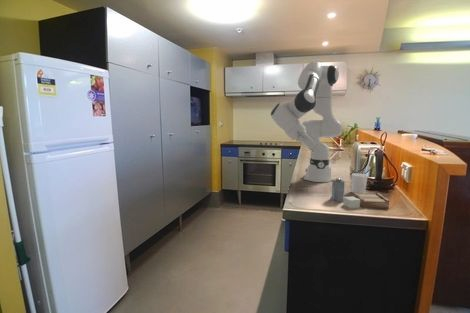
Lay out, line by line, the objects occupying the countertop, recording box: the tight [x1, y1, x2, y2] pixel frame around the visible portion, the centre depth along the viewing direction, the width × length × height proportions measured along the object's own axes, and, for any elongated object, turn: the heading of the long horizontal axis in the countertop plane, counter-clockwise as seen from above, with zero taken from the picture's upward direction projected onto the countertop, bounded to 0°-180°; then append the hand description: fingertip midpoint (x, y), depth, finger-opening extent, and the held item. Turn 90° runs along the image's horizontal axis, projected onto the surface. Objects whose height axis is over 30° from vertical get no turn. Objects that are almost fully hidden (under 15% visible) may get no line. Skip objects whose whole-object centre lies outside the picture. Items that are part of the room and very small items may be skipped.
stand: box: [352, 192, 390, 209], centre depth 127 cm, size 12×12×4 cm
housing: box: [330, 177, 345, 203], centre depth 132 cm, size 5×5×11 cm
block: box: [342, 195, 361, 209], centre depth 123 cm, size 5×5×4 cm
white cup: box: [350, 172, 368, 194], centre depth 145 cm, size 8×8×10 cm
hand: (316, 151), depth 130 cm, fingers open, 8 cm apart
